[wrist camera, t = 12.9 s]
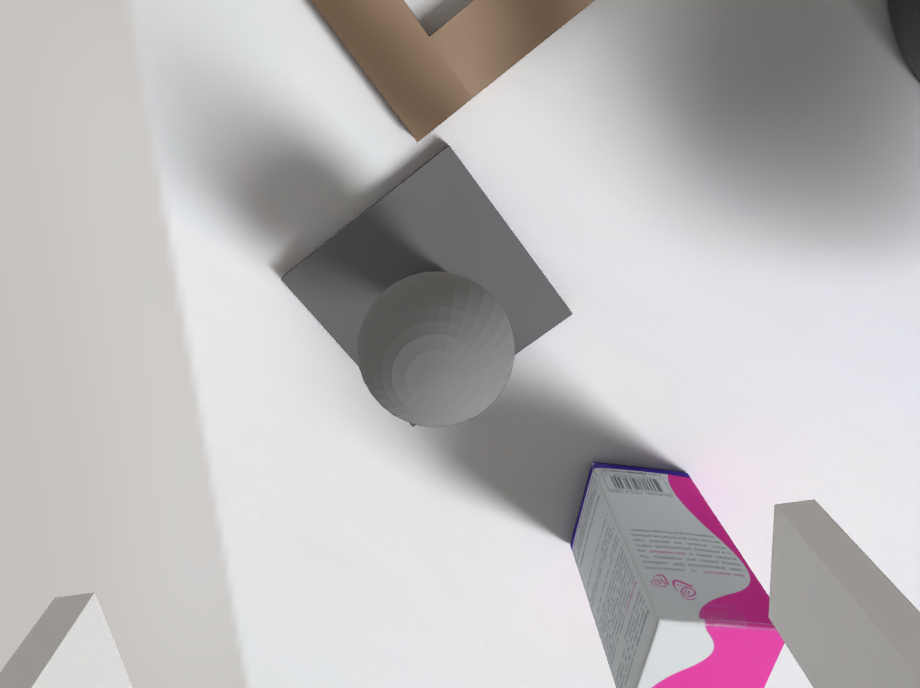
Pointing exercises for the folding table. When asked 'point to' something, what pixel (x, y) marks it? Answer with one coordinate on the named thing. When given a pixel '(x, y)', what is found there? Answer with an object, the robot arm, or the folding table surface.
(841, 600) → the robot arm
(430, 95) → the wooden picture frame
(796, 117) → the folding table surface
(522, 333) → the mat
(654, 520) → the supplement box
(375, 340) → the light bulb
